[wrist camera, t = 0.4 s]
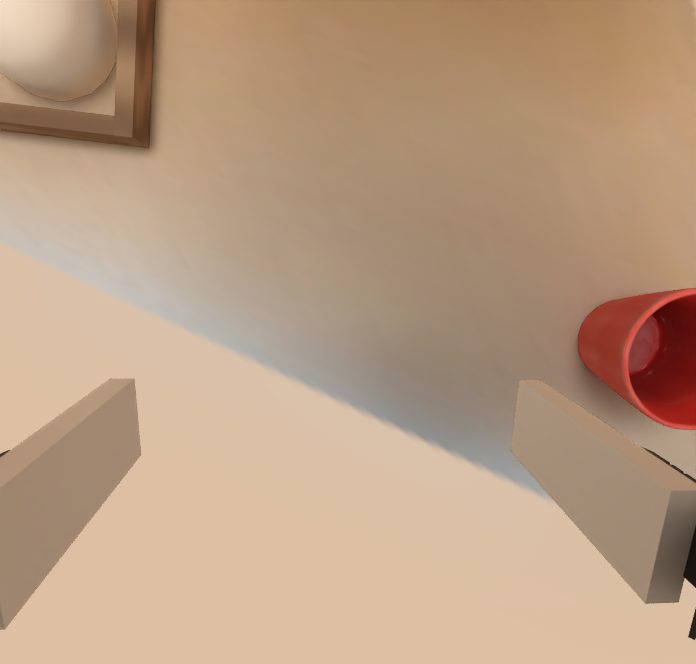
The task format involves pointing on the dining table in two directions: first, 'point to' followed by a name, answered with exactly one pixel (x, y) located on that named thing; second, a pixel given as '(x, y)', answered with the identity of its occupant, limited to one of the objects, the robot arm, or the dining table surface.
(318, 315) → the dining table surface
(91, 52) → the teardrop
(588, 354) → the flower pot
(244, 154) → the dining table surface
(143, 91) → the walnut collar
